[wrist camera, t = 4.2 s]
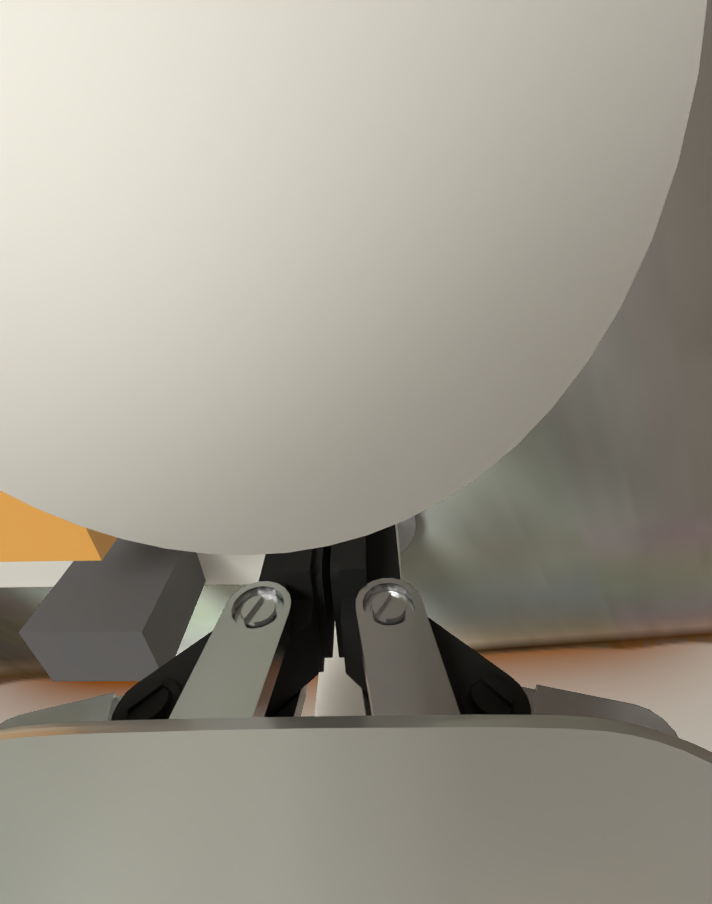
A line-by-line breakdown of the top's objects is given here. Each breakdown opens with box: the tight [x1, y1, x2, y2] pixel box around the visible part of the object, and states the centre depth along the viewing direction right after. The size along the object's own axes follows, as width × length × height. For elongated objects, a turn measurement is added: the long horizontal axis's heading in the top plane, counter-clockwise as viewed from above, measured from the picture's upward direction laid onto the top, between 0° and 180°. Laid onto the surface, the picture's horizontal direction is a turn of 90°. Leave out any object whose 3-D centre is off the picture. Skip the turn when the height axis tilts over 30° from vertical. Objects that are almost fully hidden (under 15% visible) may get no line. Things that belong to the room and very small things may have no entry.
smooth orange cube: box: [0, 491, 117, 562], centre depth 15 cm, size 4×4×5 cm
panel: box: [0, 538, 265, 681], centre depth 16 cm, size 19×18×8 cm
